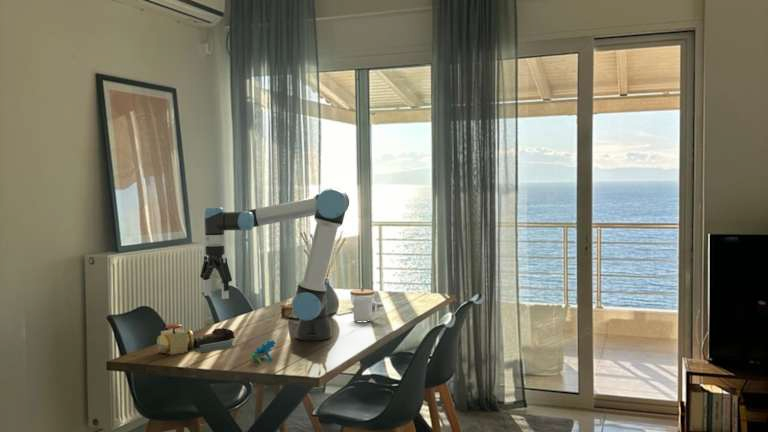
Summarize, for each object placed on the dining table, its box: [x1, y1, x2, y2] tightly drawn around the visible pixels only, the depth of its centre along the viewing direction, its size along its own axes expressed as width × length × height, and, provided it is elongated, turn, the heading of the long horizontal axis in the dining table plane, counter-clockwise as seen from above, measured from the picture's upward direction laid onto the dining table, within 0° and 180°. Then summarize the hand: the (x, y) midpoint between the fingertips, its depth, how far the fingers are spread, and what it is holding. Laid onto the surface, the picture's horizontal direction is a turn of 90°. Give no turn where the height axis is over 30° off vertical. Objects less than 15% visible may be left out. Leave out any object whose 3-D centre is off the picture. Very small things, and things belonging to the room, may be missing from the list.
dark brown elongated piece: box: [194, 327, 236, 348], centre depth 277 cm, size 18×7×6 cm, turn 133°
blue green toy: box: [250, 339, 276, 364], centre depth 253 cm, size 11×6×10 cm
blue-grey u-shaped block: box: [191, 339, 234, 353], centre depth 276 cm, size 17×14×3 cm
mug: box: [352, 296, 378, 322], centre depth 326 cm, size 12×9×11 cm
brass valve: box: [156, 322, 195, 356], centre depth 266 cm, size 8×12×11 cm, turn 134°
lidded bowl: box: [350, 287, 375, 305], centre depth 360 cm, size 13×13×11 cm
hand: (216, 297), depth 279 cm, fingers open, 13 cm apart
